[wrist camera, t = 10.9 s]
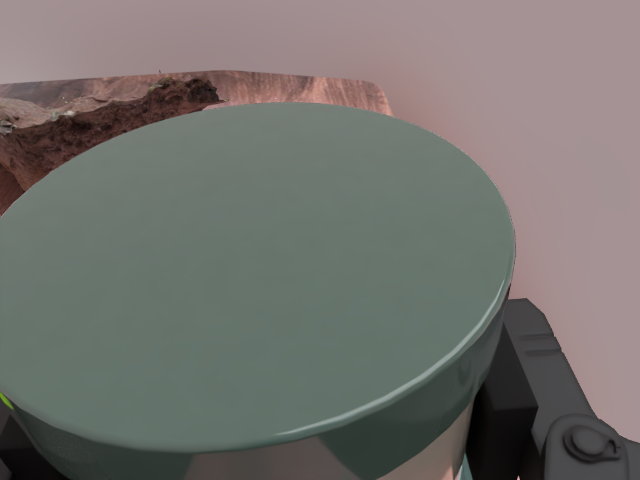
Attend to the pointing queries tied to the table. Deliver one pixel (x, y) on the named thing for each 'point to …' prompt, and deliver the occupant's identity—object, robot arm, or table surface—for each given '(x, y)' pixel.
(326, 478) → the jar
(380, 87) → the table surface
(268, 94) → the table surface
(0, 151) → the rock
